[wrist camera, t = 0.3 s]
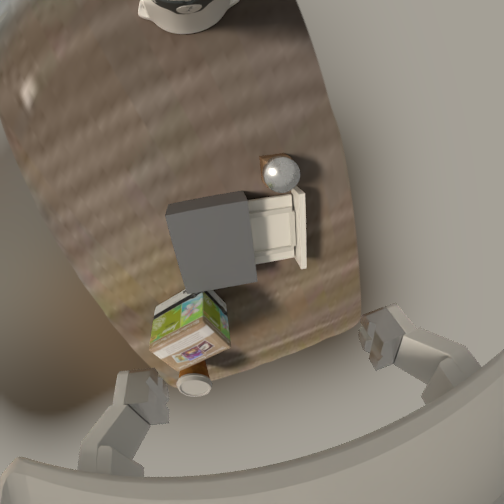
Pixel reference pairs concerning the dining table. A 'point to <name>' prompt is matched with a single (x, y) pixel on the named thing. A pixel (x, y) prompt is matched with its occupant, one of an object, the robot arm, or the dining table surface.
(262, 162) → the wooden block
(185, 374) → the disposable coffee cup
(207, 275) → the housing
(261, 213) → the cream drawer
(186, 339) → the tea box
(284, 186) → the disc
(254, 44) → the dining table surface
